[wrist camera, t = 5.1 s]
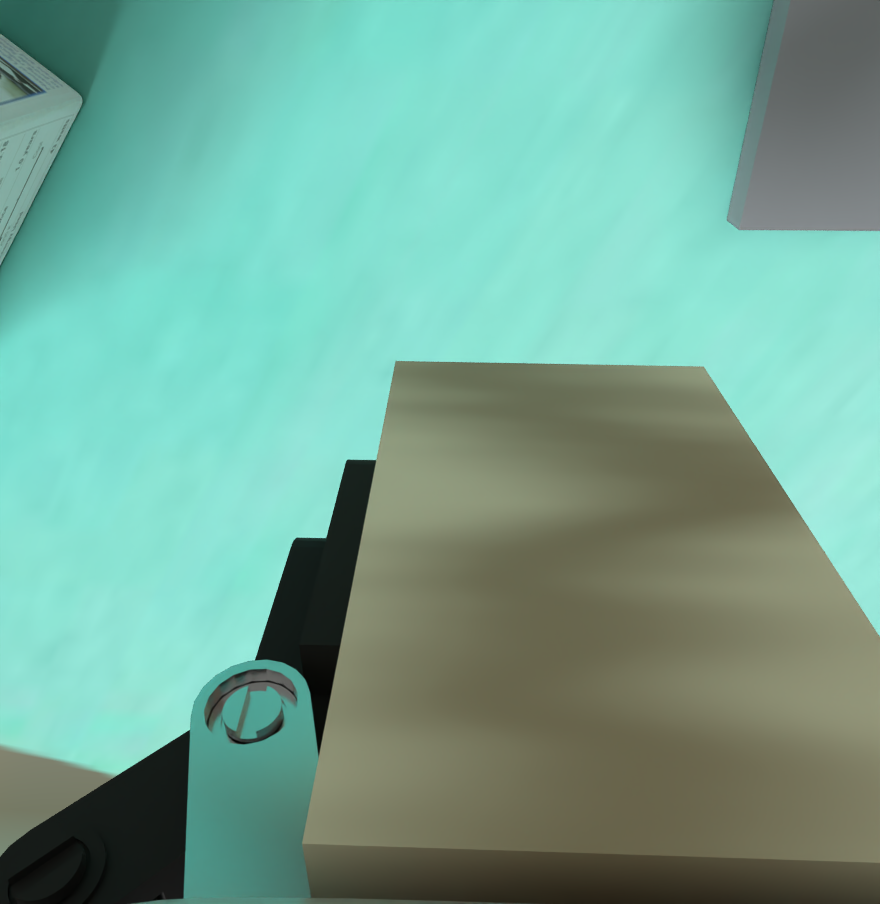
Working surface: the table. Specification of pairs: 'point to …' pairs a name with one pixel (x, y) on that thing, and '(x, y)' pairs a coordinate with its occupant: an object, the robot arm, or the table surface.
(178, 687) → the table surface
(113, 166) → the table surface
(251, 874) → the robot arm
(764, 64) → the slate mat
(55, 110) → the light bulb box
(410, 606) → the birch block
